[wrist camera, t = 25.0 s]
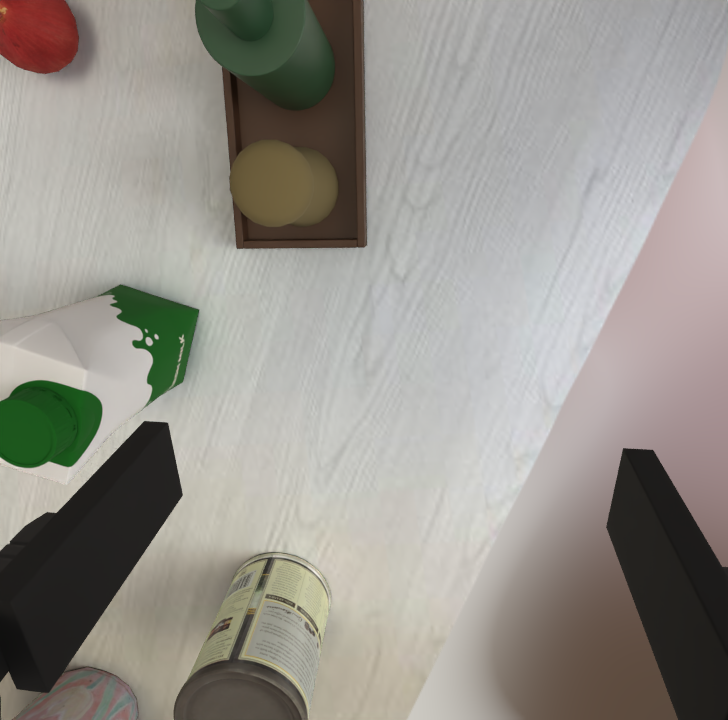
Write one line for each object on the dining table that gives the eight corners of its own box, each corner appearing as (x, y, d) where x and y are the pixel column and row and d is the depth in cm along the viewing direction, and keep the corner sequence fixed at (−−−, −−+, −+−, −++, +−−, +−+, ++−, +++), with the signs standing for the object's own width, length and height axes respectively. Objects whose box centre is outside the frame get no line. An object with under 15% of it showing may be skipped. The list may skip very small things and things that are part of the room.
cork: (299, 128, 42) (261, 104, 31) (354, 188, 42) (336, 183, 32) (247, 187, 43) (194, 182, 33) (302, 243, 44) (267, 256, 33)
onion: (24, 70, 43) (-61, 42, 35) (30, -12, 41) (-57, -61, 33) (95, 91, 43) (26, 68, 35) (105, 10, 41) (34, -34, 33)
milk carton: (191, 393, 49) (52, 517, 30) (95, 362, 49) (-106, 466, 30) (212, 302, 47) (75, 374, 28) (111, 269, 47) (-97, 318, 27)
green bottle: (333, 19, 39) (280, -109, 23) (336, 109, 41) (288, 49, 25) (252, 22, 40) (144, -100, 24) (258, 111, 42) (160, 55, 25)
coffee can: (307, 652, 56) (274, 794, 43) (216, 611, 56) (154, 742, 42) (349, 579, 53) (328, 706, 40) (254, 534, 53) (200, 649, 39)
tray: (361, -149, 37) (358, -169, 35) (367, 245, 44) (364, 247, 42) (214, -139, 38) (203, -158, 36) (244, 246, 45) (236, 248, 43)
